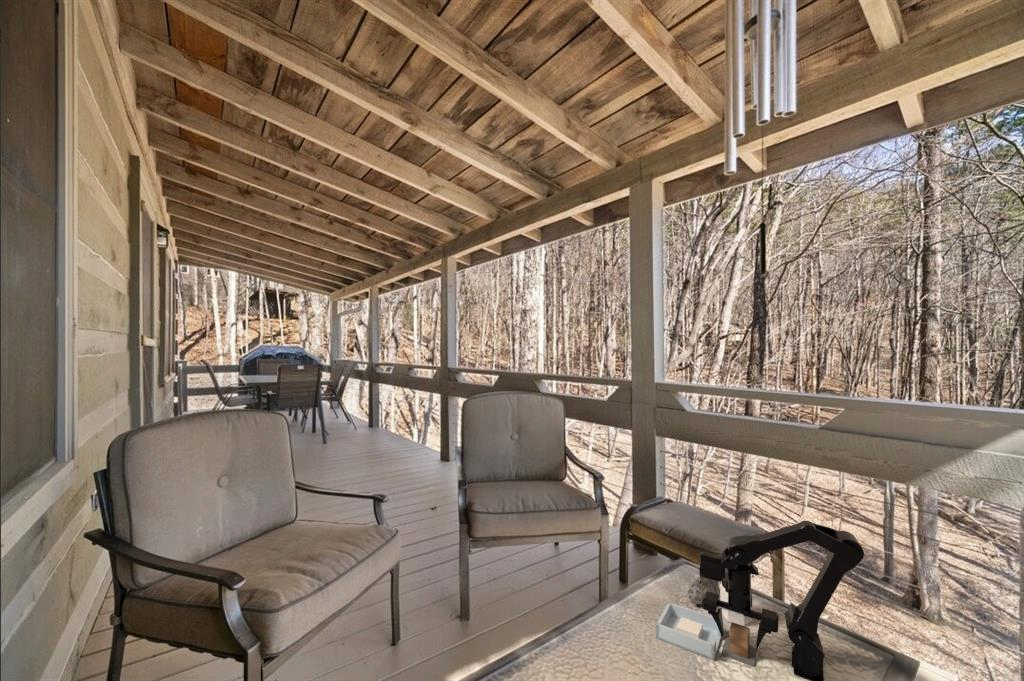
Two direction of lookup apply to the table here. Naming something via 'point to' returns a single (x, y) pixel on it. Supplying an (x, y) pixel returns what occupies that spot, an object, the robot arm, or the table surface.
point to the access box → (689, 630)
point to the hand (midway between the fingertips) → (739, 641)
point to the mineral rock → (702, 589)
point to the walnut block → (739, 640)
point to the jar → (728, 614)
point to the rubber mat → (748, 661)
